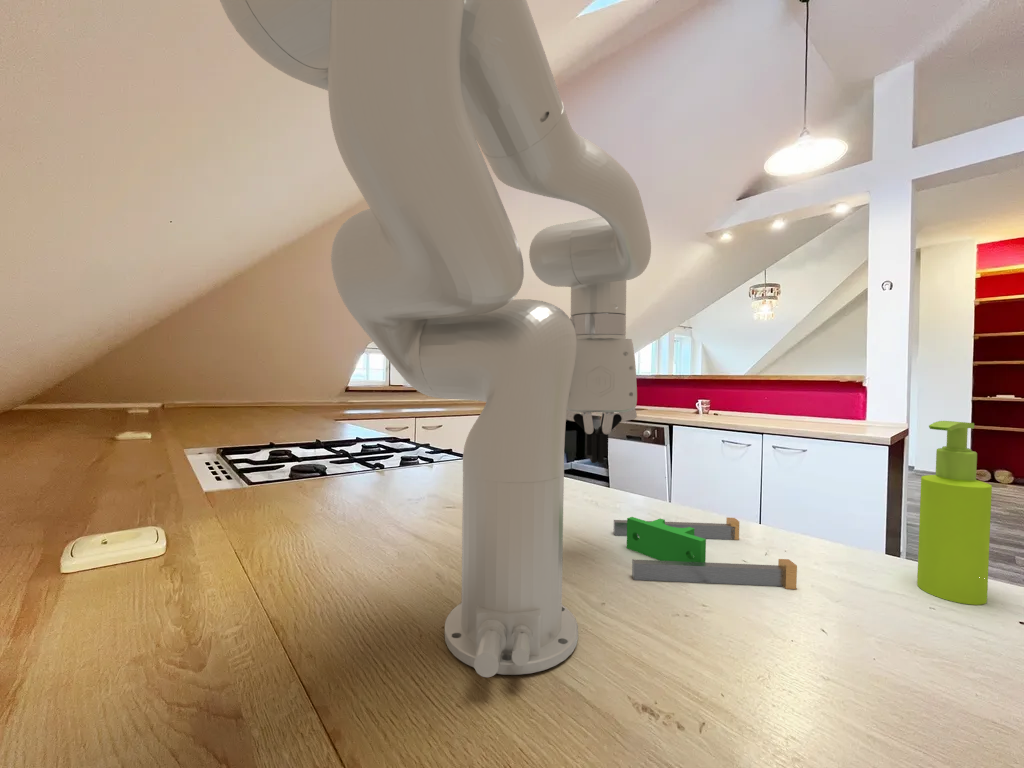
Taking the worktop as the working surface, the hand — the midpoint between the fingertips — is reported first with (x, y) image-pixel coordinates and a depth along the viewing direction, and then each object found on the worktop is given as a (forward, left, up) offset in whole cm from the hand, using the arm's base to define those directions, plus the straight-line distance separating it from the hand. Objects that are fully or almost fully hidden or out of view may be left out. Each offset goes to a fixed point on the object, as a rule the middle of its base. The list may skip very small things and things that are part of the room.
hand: (596, 460), depth 64 cm
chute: (-1, -13, -13) cm, 18 cm away
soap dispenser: (-9, -40, -13) cm, 43 cm away
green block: (-1, -10, -13) cm, 16 cm away
